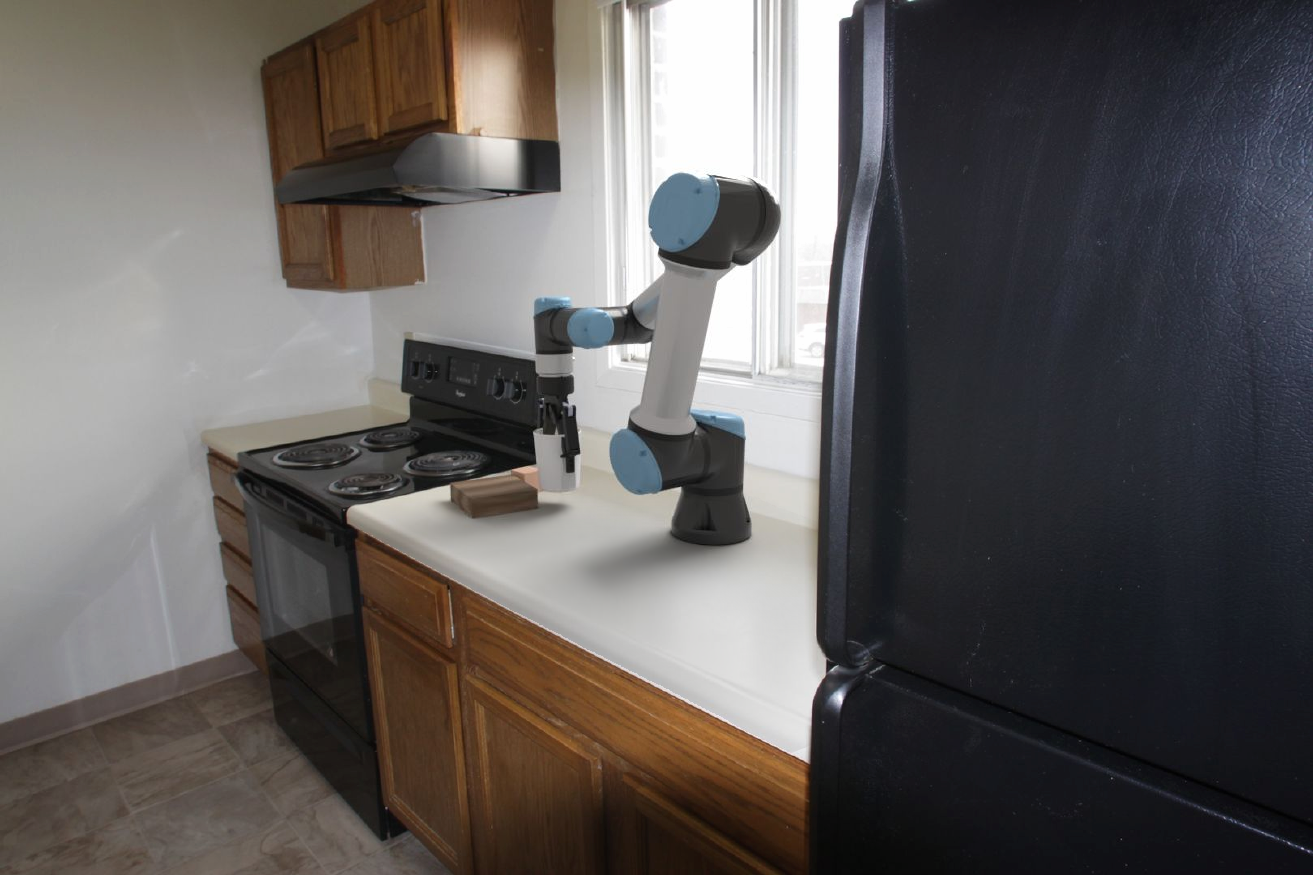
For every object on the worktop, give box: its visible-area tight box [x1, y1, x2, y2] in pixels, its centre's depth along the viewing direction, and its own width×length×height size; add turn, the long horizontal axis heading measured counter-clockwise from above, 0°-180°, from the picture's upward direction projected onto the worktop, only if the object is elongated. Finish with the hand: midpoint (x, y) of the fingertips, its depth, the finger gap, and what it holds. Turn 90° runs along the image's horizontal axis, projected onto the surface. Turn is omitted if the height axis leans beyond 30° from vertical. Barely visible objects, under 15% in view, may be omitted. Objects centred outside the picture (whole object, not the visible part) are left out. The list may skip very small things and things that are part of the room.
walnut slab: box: [449, 474, 539, 519], centre depth 172 cm, size 14×14×4 cm
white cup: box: [532, 427, 583, 494], centre depth 169 cm, size 10×10×12 cm
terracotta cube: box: [510, 465, 544, 494], centre depth 182 cm, size 5×5×5 cm
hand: (558, 483), depth 170 cm, fingers closed on white cup, 9 cm apart
